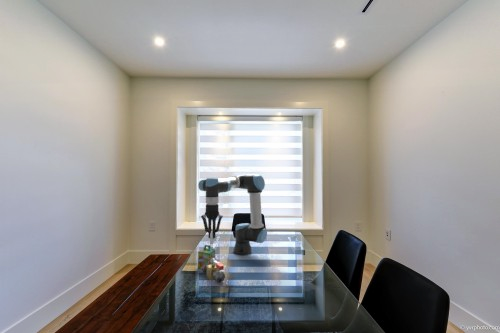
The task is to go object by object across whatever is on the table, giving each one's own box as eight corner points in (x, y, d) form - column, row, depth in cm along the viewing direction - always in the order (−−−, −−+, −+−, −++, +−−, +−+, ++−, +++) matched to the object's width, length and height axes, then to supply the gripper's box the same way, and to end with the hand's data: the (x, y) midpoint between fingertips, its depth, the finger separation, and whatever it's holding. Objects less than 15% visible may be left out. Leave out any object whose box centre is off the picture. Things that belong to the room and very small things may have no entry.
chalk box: (197, 268, 152) (197, 247, 153) (203, 263, 161) (204, 243, 161) (209, 270, 150) (209, 248, 150) (215, 265, 159) (215, 244, 159)
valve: (201, 273, 146) (201, 260, 146) (210, 270, 150) (210, 257, 150) (215, 284, 132) (216, 269, 132) (225, 281, 136) (225, 266, 136)
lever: (209, 262, 141) (209, 258, 141) (214, 261, 143) (214, 257, 143) (219, 270, 130) (219, 266, 130) (224, 269, 132) (224, 265, 132)
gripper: (199, 204, 129) (199, 245, 129) (221, 205, 127) (221, 246, 127) (203, 202, 136) (203, 241, 136) (224, 203, 135) (224, 241, 135)
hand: (211, 243), depth 132 cm, fingers closed
